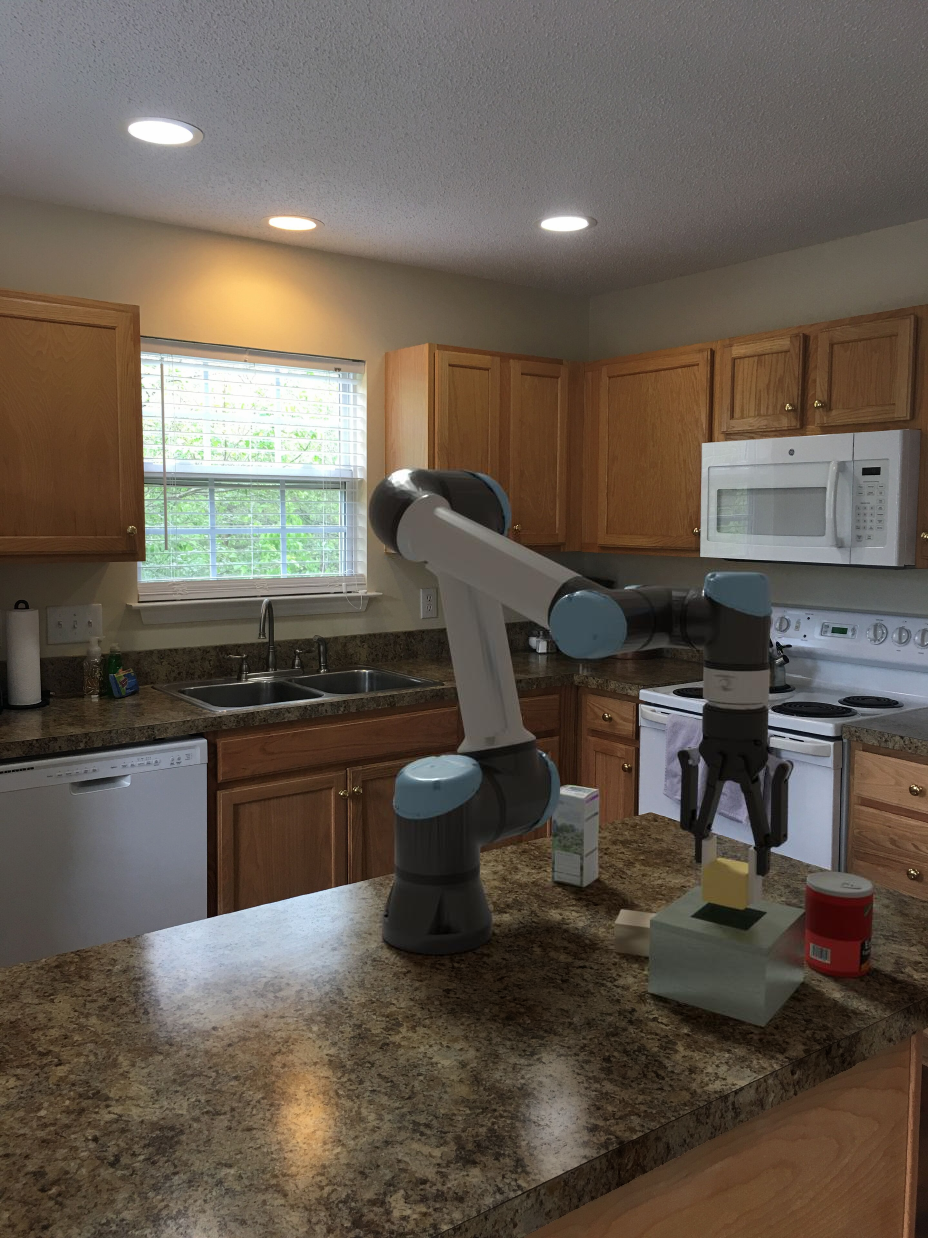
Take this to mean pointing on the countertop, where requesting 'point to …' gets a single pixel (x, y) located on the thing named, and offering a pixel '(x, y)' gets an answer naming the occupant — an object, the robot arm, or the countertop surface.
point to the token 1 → (632, 932)
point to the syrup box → (575, 836)
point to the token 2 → (726, 883)
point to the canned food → (838, 924)
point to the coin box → (727, 956)
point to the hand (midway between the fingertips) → (731, 895)
